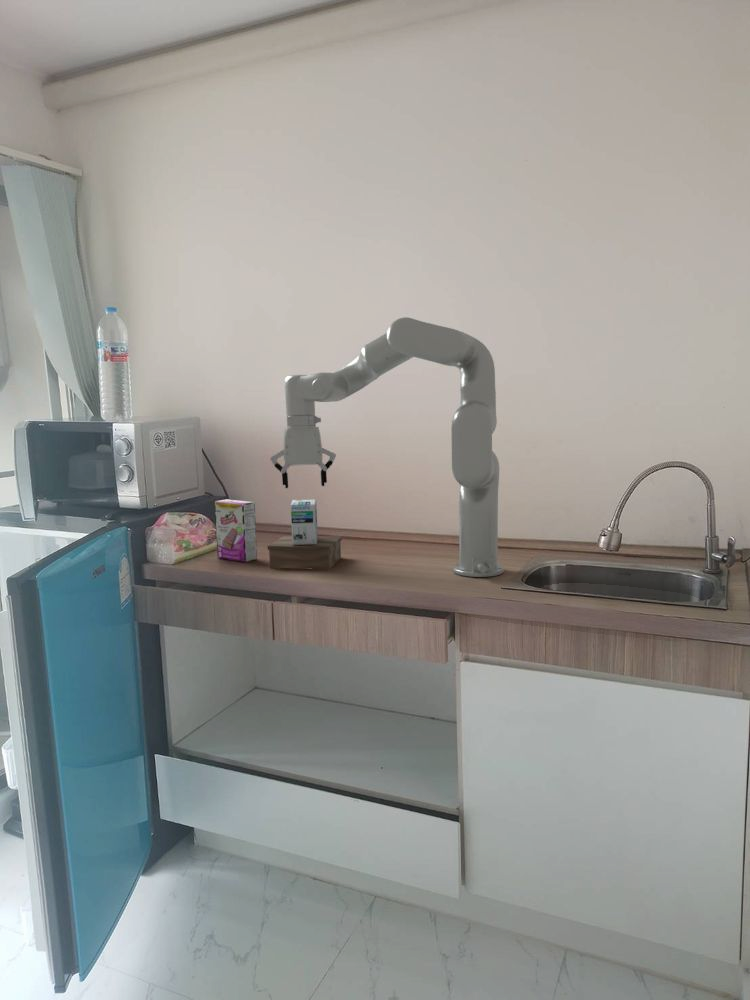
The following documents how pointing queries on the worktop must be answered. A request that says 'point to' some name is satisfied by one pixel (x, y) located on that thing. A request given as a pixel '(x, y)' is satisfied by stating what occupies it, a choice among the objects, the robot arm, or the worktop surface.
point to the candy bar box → (236, 530)
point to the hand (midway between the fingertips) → (304, 486)
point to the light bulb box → (304, 522)
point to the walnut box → (305, 553)
